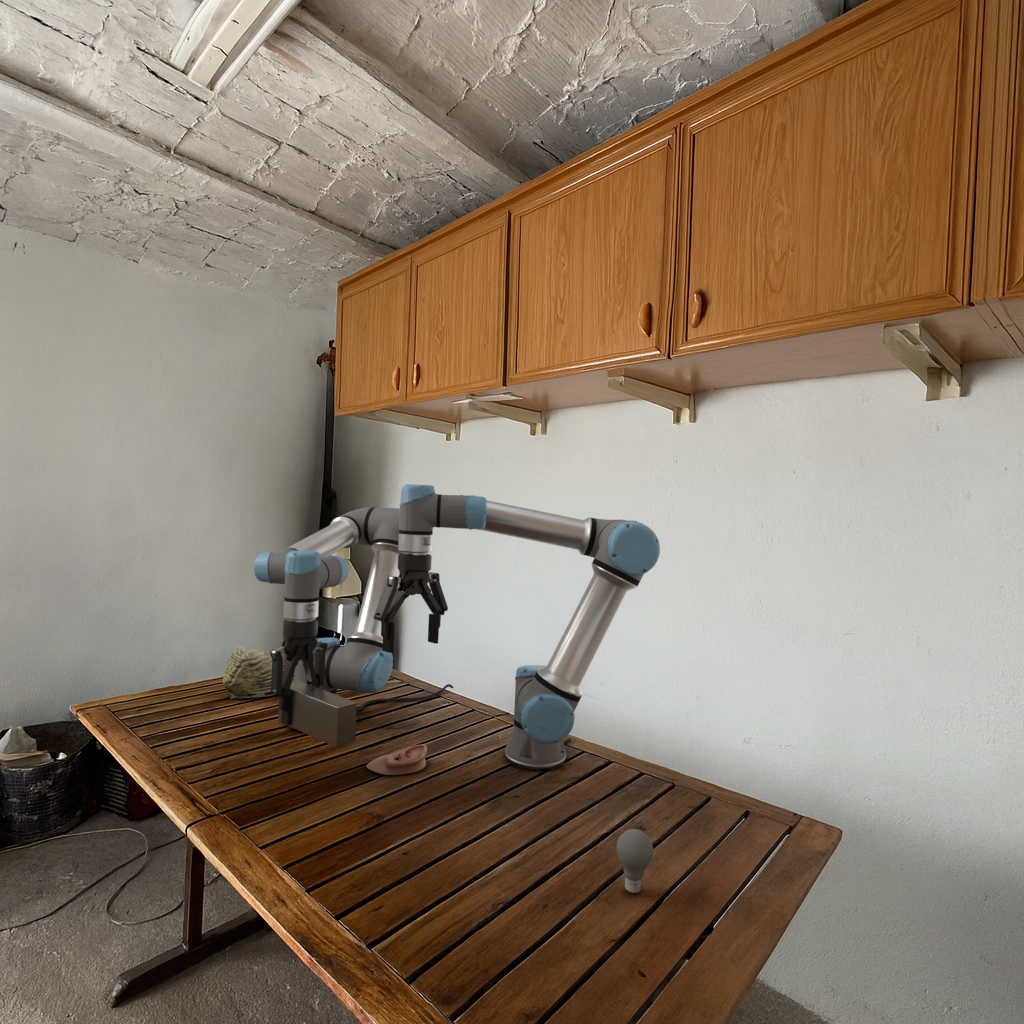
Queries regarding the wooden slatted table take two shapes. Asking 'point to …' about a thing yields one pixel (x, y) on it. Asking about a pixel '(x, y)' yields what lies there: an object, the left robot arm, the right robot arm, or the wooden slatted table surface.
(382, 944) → the wooden slatted table surface
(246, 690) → the fossil
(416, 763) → the anatomical model
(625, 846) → the light bulb
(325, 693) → the bar
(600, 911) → the wooden slatted table surface
